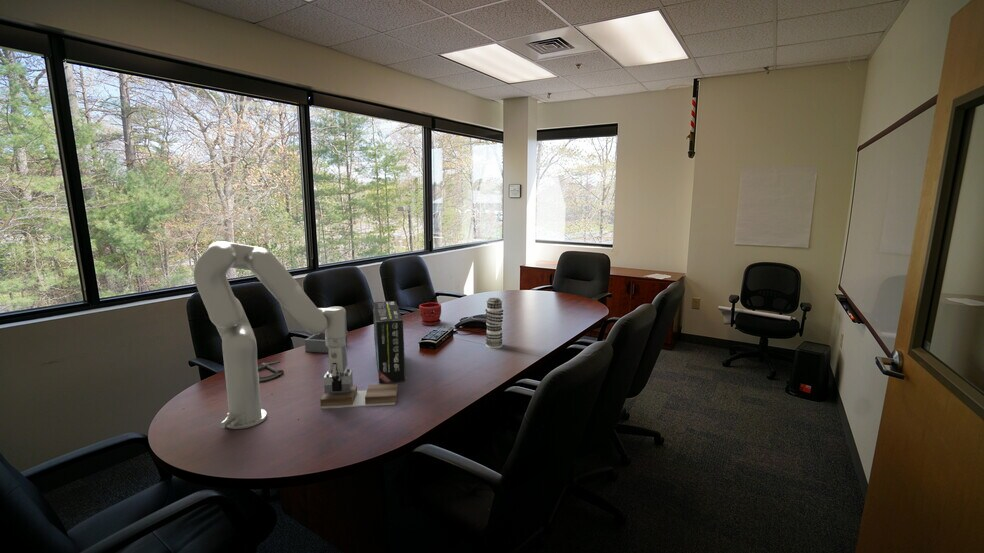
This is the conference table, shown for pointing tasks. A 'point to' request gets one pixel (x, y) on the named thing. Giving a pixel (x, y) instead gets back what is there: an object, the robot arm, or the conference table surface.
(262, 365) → the c clamp
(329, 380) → the housing
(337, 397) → the stand
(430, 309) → the plant pot
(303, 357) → the conference table surface
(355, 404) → the mat
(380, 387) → the stand
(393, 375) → the router box
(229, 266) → the robot arm
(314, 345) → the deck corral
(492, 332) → the model tower
